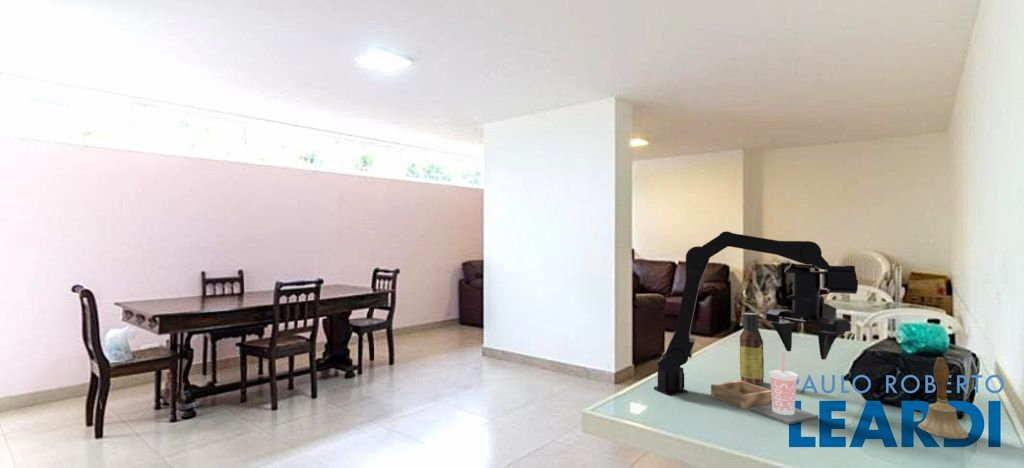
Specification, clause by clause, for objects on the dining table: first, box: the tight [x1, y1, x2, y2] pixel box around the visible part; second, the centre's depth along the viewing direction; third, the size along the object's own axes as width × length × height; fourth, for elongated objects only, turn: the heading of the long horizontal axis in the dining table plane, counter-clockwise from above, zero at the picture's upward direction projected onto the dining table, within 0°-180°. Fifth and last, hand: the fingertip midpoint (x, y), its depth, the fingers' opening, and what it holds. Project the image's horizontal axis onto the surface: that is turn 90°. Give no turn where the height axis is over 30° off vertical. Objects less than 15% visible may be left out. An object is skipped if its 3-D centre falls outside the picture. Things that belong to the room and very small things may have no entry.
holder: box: [710, 379, 772, 409], centre depth 130 cm, size 10×10×3 cm
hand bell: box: [917, 356, 969, 440], centre depth 109 cm, size 8×8×16 cm
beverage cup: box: [768, 351, 799, 415], centre depth 119 cm, size 6×6×14 cm
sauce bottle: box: [738, 312, 765, 386], centre depth 145 cm, size 7×6×20 cm
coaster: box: [750, 403, 819, 425], centre depth 119 cm, size 10×10×1 cm
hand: (805, 355), depth 124 cm, fingers open, 9 cm apart
